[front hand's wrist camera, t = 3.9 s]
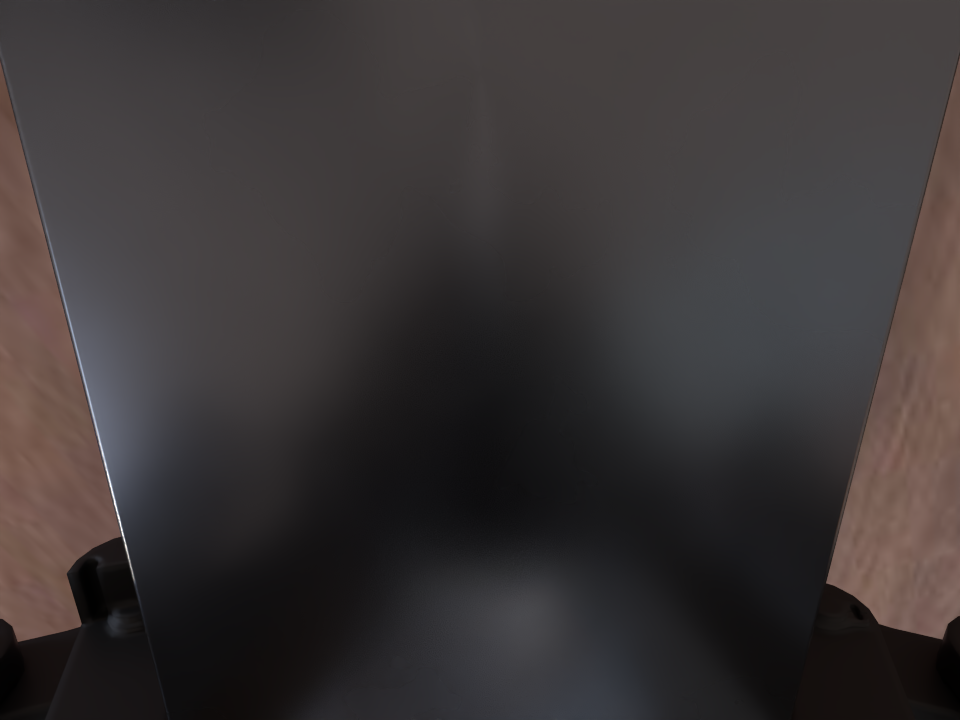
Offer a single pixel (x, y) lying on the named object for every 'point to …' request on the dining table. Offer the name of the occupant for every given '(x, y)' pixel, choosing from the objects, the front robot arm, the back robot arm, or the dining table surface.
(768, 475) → the bar
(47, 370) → the dining table surface
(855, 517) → the dining table surface
